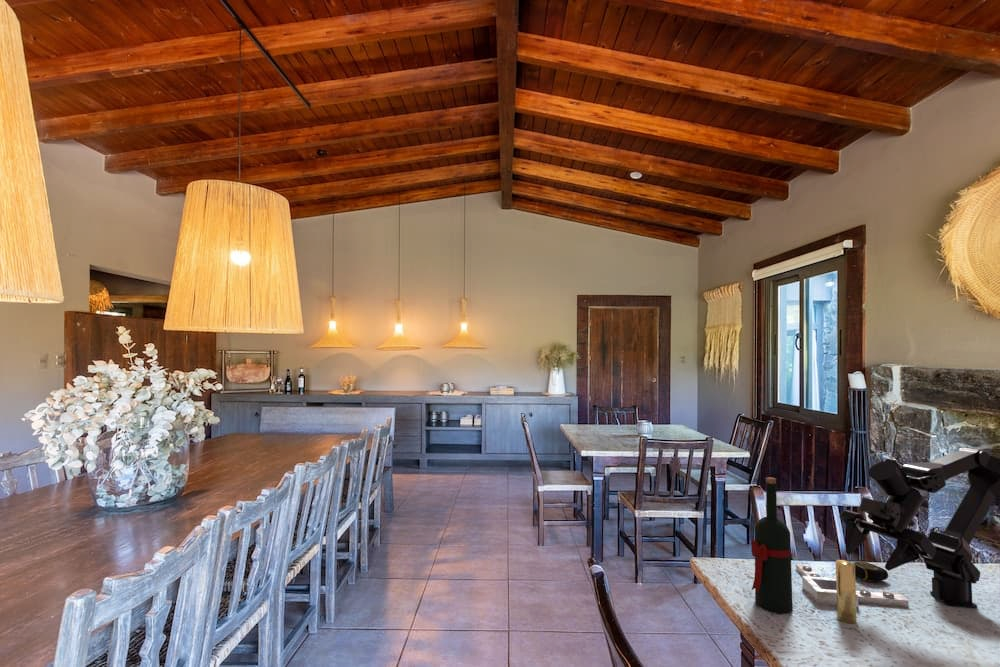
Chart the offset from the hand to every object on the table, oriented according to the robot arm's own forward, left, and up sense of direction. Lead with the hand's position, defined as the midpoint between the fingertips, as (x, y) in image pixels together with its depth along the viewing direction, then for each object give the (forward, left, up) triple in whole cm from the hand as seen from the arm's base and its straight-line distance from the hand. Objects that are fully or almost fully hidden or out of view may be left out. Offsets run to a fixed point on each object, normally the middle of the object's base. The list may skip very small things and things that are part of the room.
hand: (866, 561), depth 115 cm
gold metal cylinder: (+6, +3, -12) cm, 14 cm away
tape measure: (-11, -23, -13) cm, 28 cm away
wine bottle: (+21, 0, -12) cm, 24 cm away
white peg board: (-1, -14, -12) cm, 19 cm away
